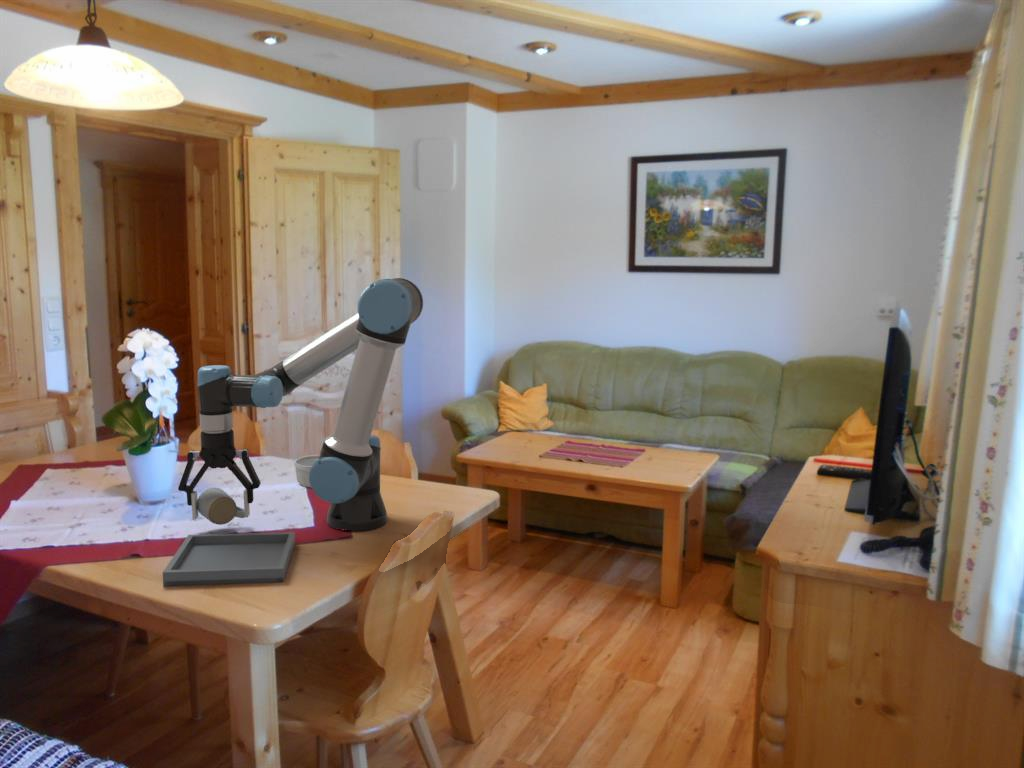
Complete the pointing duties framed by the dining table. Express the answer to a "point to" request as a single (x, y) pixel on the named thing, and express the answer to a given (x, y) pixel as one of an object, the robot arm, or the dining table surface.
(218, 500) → the ceramic mug
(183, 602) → the dining table surface
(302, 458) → the ramekin
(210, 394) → the robot arm
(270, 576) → the slate tray
